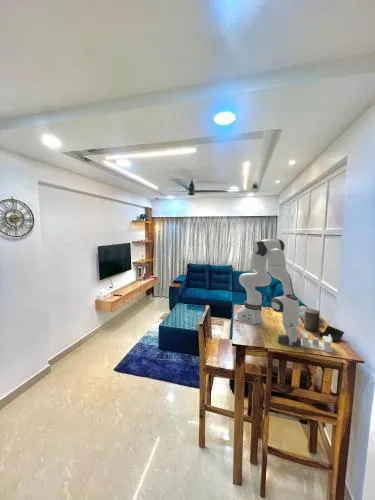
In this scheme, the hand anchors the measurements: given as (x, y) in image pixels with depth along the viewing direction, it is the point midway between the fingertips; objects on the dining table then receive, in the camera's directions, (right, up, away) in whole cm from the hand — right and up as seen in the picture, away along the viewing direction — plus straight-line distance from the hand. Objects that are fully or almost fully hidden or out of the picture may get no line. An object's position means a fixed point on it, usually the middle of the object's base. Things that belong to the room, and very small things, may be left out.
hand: (289, 341), depth 138 cm
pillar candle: (+27, 0, +23) cm, 35 cm away
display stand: (+16, -2, -2) cm, 16 cm away
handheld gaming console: (+30, -2, +8) cm, 31 cm away
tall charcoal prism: (0, -2, 0) cm, 2 cm away
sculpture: (+37, +1, +43) cm, 56 cm away
